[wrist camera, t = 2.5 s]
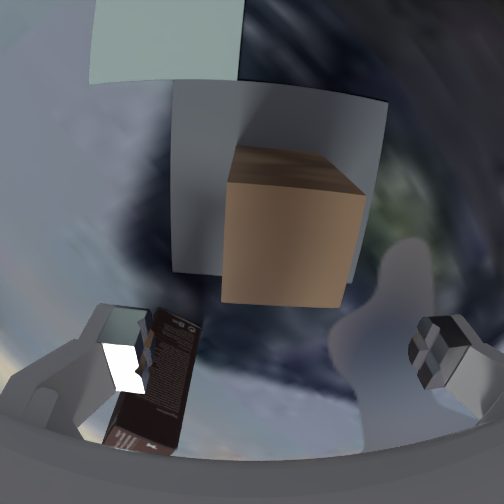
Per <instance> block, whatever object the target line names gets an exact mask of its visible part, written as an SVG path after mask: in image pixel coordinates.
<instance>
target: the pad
mask: <svg viewBox="0 0 504 504" xmlns="http://www.w3.org/2000/svg"><path fill="white" fill-rule="evenodd" d="M244 2H245V0H97V1H96V8H95V15H94V23H93V33H92V43H91V55H90V70H89V85H92V84H101V83H112V82H124V81H139V80H163V79H211V80H235V81H237V77H238V65H239V54H240V43H241V32H242V22H243V12H244Z"/></svg>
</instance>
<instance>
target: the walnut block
mask: <svg viewBox="0 0 504 504" xmlns="http://www.w3.org/2000/svg"><path fill="white" fill-rule="evenodd" d="M366 197H367V196H366V195H365V194H364V193H363V192H362V191H361V190H360V189H359V188H358V187H357V186H356V185H355V184H354V183H353V182H352V181H351V180H349V179H348V178H347V177H346V176H345V175H344V174H343V173H342V172H341V171H340V170H339V169H337V168H336V167H335V166H334V165H333V164H332V163H331V162H330V161H328V160H327V159H326V158H325V157H324V156H323V155H322V154H320V153H312V152H303V151H294V150H285V149H274V148H263V147H251V146H237V145H236V148H235V152H234V156H233V160H232V164H231V168H230V172H229V176H228V180H227V192H226V209H225V228H224V249H223V272H222V297H221V302H225V303H240V304H256V305H275V306H296V307H322V308H340V304H341V301H342V297H343V293H344V290H345V286H346V282H347V279H348V275H349V271H350V267H351V263H352V259H353V255H354V251H355V247H356V243H357V238H358V234H359V230H360V225H361V221H362V216H363V211H364V207H365V202H366Z"/></svg>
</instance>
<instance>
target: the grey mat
mask: <svg viewBox="0 0 504 504" xmlns="http://www.w3.org/2000/svg"><path fill="white" fill-rule="evenodd" d="M387 109H388V103H386V102H382V101H377V100H373V99H368V98H364V97H359V96H354V95H349V94H343V93H338V92H332V91H326V90H320V89H313V88H306V87H299V86H291V85H282V84H273V83H262V82H250V81H235V80H211V79H174V85H173V103H172V127H171V181H170V190H171V245H172V270H173V272H179V273H192V274H206V275H220V276H222V272H223V249H224V228H225V209H226V192H227V180H228V176H229V172H230V168H231V164H232V160H233V156H234V152H235V148H236V145H237V146H251V147H263V148H274V149H285V150H294V151H303V152H312V153H320V154H322V155H323V156H324V157H325V158H326V159H327V160H328V161H330V162H331V163H332V164H333V165H334V166H335V167H336V168H337V169H339V170H340V171H341V172H342V173H343V174H344V175H345V176H346V177H347V178H348V179H349V180H351V181H352V182H353V183H354V184H355V185H356V186H357V187H358V188H359V189H360V190H361V191H362V192H363V193H364V194H365V195H366V196H367V197H366V202H365V207H364V211H363V216H362V221H361V225H360V230H359V234H358V238H357V243H356V247H355V251H354V255H353V259H352V263H351V267H350V271H349V275H348V279H347V282H346V283H352V280H353V276H354V273H355V269H356V265H357V261H358V257H359V253H360V249H361V245H362V241H363V237H364V233H365V229H366V224H367V220H368V215H369V211H370V206H371V201H372V197H373V192H374V187H375V182H376V176H377V171H378V166H379V160H380V154H381V149H382V143H383V136H384V130H385V123H386V116H387Z"/></svg>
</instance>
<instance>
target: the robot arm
mask: <svg viewBox="0 0 504 504" xmlns="http://www.w3.org/2000/svg"><path fill="white" fill-rule="evenodd" d="M152 321H153V320H152V314H151V311H150V309H144V308H136V307H127V306H120V305H110V304H102V303H101V304H99V305H97V307H96V309H95V310H94V312H93V314H92V316H91V317H90V319H89V321H88V323H87V325H86V326H85V328H84V330H83V332H82V334H81V336H80V337H79V339H78V340H77V339H73V340H71V341H70V342H68V343H66V344H64V345H63V346H61V347H59V348H58V349H56V350H54V351H53V352H51V353H49V354H47V355H46V356H44V357H42V358H41V359H39V360H37V361H36V362H34V363H32V364H31V365H29V366H27V367H26V368H24V369H22V370H21V371H19V372H17V373H16V374H14V375H12V376H11V377H10V379H9V381H8V382H7V384H6V386H5V388H4V389H3V391H2V393H1V395H0V504H504V354H503V353H502V352H500V351H498V350H497V349H495V348H493V347H492V346H490V345H488V344H487V343H486V344H483V342H482V341H481V340H480V338H479V337H478V336H477V334H476V333H475V332H474V330H473V329H472V328H471V326H470V325H469V324H468V322H467V321H466V320H465V319H464V317H463V316H461V315H459V314H453V315H447V316H428V317H423V318H422V319H421V320H420V321H419V323H418V325H417V329H418V333H416V335H414V336H413V337H412V339H411V341H410V344H409V348H408V356H409V360H410V362H411V364H412V366H414V367H415V368H417V369H418V373H417V376H418V378H419V380H420V382H421V384H422V386H423V388H424V390H428V389H435V388H442V387H445V389H446V390H447V391H448V392H449V393H450V394H451V395H452V396H454V397H455V398H456V399H457V400H458V401H459V402H460V403H461V404H462V405H464V406H465V407H466V408H467V409H468V410H469V411H470V412H471V413H472V414H473V415H475V416H476V417H477V418H478V419H479V420H480V421H479V422H478V423H477V424H476V425H475V426H474V427H471V428H468V429H465V430H462V431H459V432H455V433H452V434H449V435H445V436H442V437H438V438H434V439H430V440H426V441H422V442H418V443H414V444H409V445H405V446H400V447H395V448H390V449H384V450H379V451H373V452H367V453H360V454H353V455H345V456H337V457H327V458H316V459H303V460H283V461H229V460H209V459H196V458H185V457H175V456H167V455H159V454H152V453H145V452H139V451H133V450H128V449H122V448H117V447H112V446H107V445H103V444H98V443H94V442H90V441H86V440H84V439H83V437H82V436H81V434H80V432H79V431H78V429H77V428H78V427H79V426H80V425H81V424H82V423H83V422H84V421H85V420H86V419H87V418H88V417H90V416H91V415H92V414H93V413H94V412H95V411H96V410H97V409H98V408H99V407H100V406H101V405H102V404H104V403H105V402H106V401H107V400H108V399H109V398H110V397H111V396H112V395H113V394H114V393H115V392H116V390H119V391H126V392H134V393H143V394H145V391H146V387H147V383H148V379H149V371H148V367H150V366H151V365H152V364H153V360H154V355H155V335H154V332H153V331H152V330H151V329H150V328H151V325H152Z"/></svg>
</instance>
